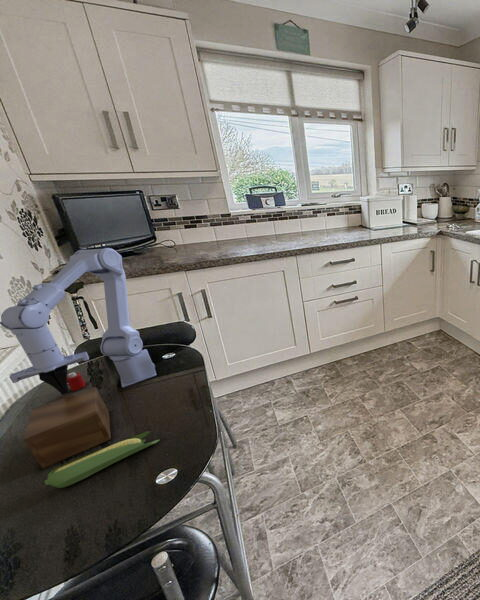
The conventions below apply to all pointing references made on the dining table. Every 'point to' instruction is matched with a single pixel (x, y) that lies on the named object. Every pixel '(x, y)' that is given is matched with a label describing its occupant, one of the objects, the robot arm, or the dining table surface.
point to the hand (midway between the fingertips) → (65, 392)
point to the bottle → (75, 381)
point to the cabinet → (67, 427)
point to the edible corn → (95, 461)
